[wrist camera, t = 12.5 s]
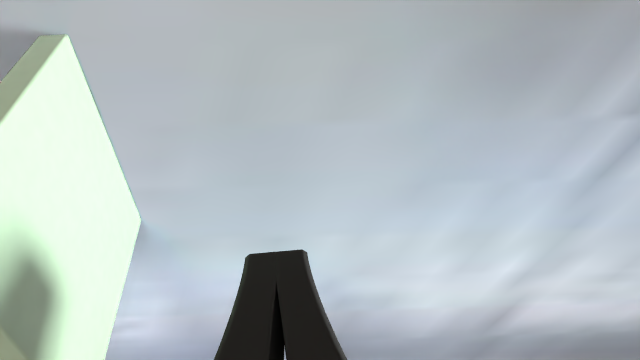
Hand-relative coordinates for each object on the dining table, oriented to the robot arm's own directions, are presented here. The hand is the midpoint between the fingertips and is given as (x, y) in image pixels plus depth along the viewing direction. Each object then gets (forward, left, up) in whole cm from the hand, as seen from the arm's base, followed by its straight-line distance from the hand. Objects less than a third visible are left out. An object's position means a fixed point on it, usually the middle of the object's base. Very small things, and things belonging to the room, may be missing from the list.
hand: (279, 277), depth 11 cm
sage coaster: (0, +6, -6) cm, 8 cm away
